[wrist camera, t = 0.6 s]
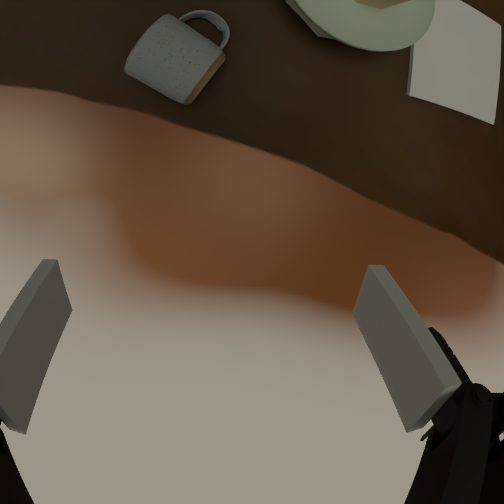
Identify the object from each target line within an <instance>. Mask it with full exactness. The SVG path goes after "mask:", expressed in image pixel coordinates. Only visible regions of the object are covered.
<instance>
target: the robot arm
mask: <svg viewBox="0 0 504 504" xmlns="http://www.w3.org/2000/svg"><path fill="white" fill-rule="evenodd" d="M71 312H72V308H71V304H70V301H69V298H68V295H67V292H66V289H65V285H64V282H63V278H62V275H61V271H60V268H59V264H58V260H48V259H43V260H42V261H41V263H40V264H39V266H38V267H37V268H36V270H35V271H34V272H33V274H32V275H31V277H30V278H29V280H28V281H27V283H26V284H25V286H24V287H23V289H22V290H21V291H20V293H19V295H18V296H17V298H16V299H15V301H14V302H13V304H12V306H11V307H10V309H9V310H8V312H7V313H6V315H5V317H4V318H3V320H2V322H1V324H0V425H1V422H3V423H4V424H5V425H6V426H7V427H8V428H9V429H10V430H13V431H17V432H19V433H22V434H26V432H27V428H28V425H29V421H30V418H31V415H32V412H33V409H34V406H35V403H36V400H37V397H38V394H39V391H40V388H41V385H42V382H43V380H44V377H45V374H46V372H47V369H48V366H49V364H50V361H51V359H52V356H53V354H54V351H55V349H56V346H57V344H58V342H59V339H60V337H61V335H62V332H63V330H64V328H65V325H66V323H67V321H68V319H69V317H70V314H71ZM352 314H353V316H354V318H355V320H356V322H357V324H358V326H359V328H360V330H361V332H362V335H363V337H364V339H365V341H366V343H367V345H368V347H369V349H370V351H371V353H372V355H373V358H374V360H375V362H376V364H377V366H378V368H379V371H380V373H381V375H382V377H383V379H384V381H385V384H386V386H387V388H388V390H389V393H390V395H391V397H392V399H393V402H394V404H395V406H396V409H397V411H398V413H399V415H400V418H401V420H402V423H403V425H404V427H405V430H406V432H410V431H414V430H417V429H420V428H423V427H424V426H425V425H426V424H427V423H428V422H429V421H430V420H432V422H433V424H434V425H433V426H432V427H431V428H430V429H429V430H428V431H427V432H426V433H425V434H424V435H423V436H422V438H421V441H423V440H424V439H425V438H426V437H427V436H428V439H427V441H426V445H425V449H424V452H423V455H422V458H421V461H420V464H419V467H418V470H417V473H416V475H415V478H414V481H413V483H412V486H411V488H410V491H409V493H408V496H407V498H406V501H405V503H404V504H504V439H503V440H502V441H500V440H499V435H500V434H501V433H503V432H504V392H503V393H491V392H490V391H489V390H488V389H487V388H486V387H485V386H483V385H481V384H477V383H474V384H473V383H472V382H471V381H470V379H469V377H468V375H467V374H466V372H465V371H464V369H463V367H462V366H461V364H460V362H459V361H458V359H457V358H456V356H455V355H453V351H452V350H451V348H450V347H448V344H447V342H446V341H445V339H444V338H443V336H442V335H441V334H440V333H439V332H437V331H436V330H435V329H434V328H433V327H430V328H427V326H426V325H425V323H424V322H423V320H422V319H421V317H420V316H419V315H418V313H417V311H416V310H415V308H414V307H413V306H412V304H411V303H410V301H409V300H408V299H407V297H406V296H405V294H404V293H403V291H402V290H401V289H400V287H399V286H398V284H397V283H396V282H395V280H394V279H393V278H392V276H391V275H390V273H389V272H388V271H387V270H386V268H385V267H384V265H368V268H367V271H366V274H365V277H364V281H363V283H362V286H361V289H360V292H359V295H358V298H357V301H356V304H355V307H354V309H353V312H352ZM0 504H34V502H33V500H32V498H31V496H30V494H29V492H28V490H27V488H26V486H25V484H24V482H23V480H22V478H21V476H20V473H19V471H18V469H17V466H16V464H15V462H14V459H13V457H12V454H11V452H10V449H9V447H8V444H7V441H6V439H5V436H4V433H3V431H2V430H1V428H0Z"/></svg>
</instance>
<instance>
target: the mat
mask: <svg viewBox="0 0 504 504" xmlns="http://www.w3.org/2000/svg"><path fill="white" fill-rule="evenodd" d="M500 59H501V25H499V24H498V23H496V22H495V21H493V20H492V19H490V18H489V17H487V16H485V15H484V14H482V13H481V12H479V11H477V10H476V9H474V8H473V7H471V6H469V5H467V4H466V3H464V2H462V1H460V0H435V11H434V16H433V20H432V23H431V25H430V27H429V29H428V30H427V32H426V33H425V34H424V36H423V37H422V38H421V39H419V40H418V41H417V42H416V43H414V44H412V45H411V49H410V62H409V73H408V83H407V92H406V95H408V96H412V97H415V98H419V99H422V100H426V101H429V102H432V103H435V104H438V105H441V106H444V107H447V108H450V109H453V110H456V111H459V112H462V113H464V114H467V115H470V116H472V117H475V118H477V119H480V120H482V121H485V122H487V123H490V124H492V125H494V120H495V113H496V105H497V97H498V88H499V76H500Z"/></svg>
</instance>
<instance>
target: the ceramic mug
mask: <svg viewBox="0 0 504 504" xmlns="http://www.w3.org/2000/svg"><path fill="white" fill-rule="evenodd" d="M192 18H204V19H207V20H208V21H210V22H211V23H212V24H214V25H215V26H216V27H217V29H218V30H220V31H222V34H223V41H222V43H221V45H220V47H218V46H217V45H216V44H214V43H213V42H212V41H210V40H209V39H207V38H206V37H204V36H202V35H201V34H199V33H198V32H197V31H195V30H194V29H192V28H191V27H189V26H188V25H186V24H185V23H183V22H185V21H187V20H189V19H192ZM229 36H230V31H229V27H228V25H227V23H226V22H225V21H224V19H223V18H221V17H220V16H219V15H217V14H216V13H214V12H211V11H208V10H197V11H192V12H190V13H187V14H185V15H183V16H182V17H180V18H179V19H177V18H176V17H174V16H173V15H170V14H166V15H164V16H162V17H161V18H159V19H158V20H157V21H156V22H155V23H154V24H152V25H151V26H150V27H149V28H148V29H147V30H146V32H145V33H144V34H143V35H142V37H141V38H140V39H139V41H138V42H137V43H136V45H135V47H134V48H133V50H132V51H131V53H130V55H129V56H128V58H127V61H126V65H125V68H124V69H125V73H126V74H128V75H130V76H131V77H133V78H135V79H137V80H139V81H141V82H142V83H144V84H146V85H148V86H149V87H151V88H153V89H155V90H157V91H159V92H160V93H162V94H164V95H165V96H167V97H169V98H170V99H172V100H174V101H177V102H179V103H181V104H191V103H192V102H193V101H194V99H195V98H196V97H197V95H198V94H199V93H200V91H201V90H202V89H203V87H204V86H205V85H206V84H207V82H208V81H209V80H210V79H211V77H212V76H213V75H214V73H215V72H216V71H217V70H218V68H219V67H220V66H221V65H222V63H223V62H224V61H225V58H226V57H225V54H224V52H223V51H222V49H223V48H224V46H225V45H226V43H227V42H228V39H229Z"/></svg>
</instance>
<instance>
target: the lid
mask: <svg viewBox="0 0 504 504" xmlns="http://www.w3.org/2000/svg"><path fill="white" fill-rule="evenodd" d="M293 1H294V2H295V4H296V6H297V7H298V8H299V10H300V11H301V12H302V13H303V14H304V16H305V17H306V18H307V19H308V20H309V21H310V22H311V23H312V24H314V25H315V26H316V27H317V28H319V29H320V30H321V31H322V32H324V33H325V34H327V35H328V36H330V37H332V38H334V39H335V40H337V41H339V42H341V43H344V44H346V45H348V46H351V47H354V48H358V49H362V50H367V51H378V52H380V51H394V50H399V49H403V48H406V47H408V46H410V45H412V44H414V43H416V42H417V41H418V40H419V39H421V38H422V37H423V36H424V34H425V33H426V32H427V30H428V29H429V27H430V25H431V23H432V20H433V16H434V11H435V0H293Z"/></svg>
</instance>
